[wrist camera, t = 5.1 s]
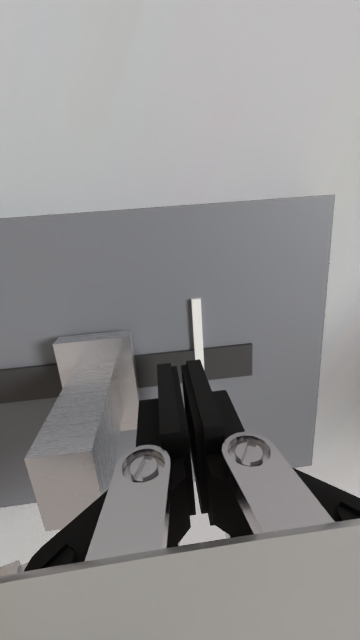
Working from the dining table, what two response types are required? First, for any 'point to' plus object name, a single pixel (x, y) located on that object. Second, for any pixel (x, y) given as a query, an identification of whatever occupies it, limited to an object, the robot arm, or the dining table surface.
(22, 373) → the console
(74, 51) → the dining table surface
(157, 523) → the robot arm
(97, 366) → the fader
